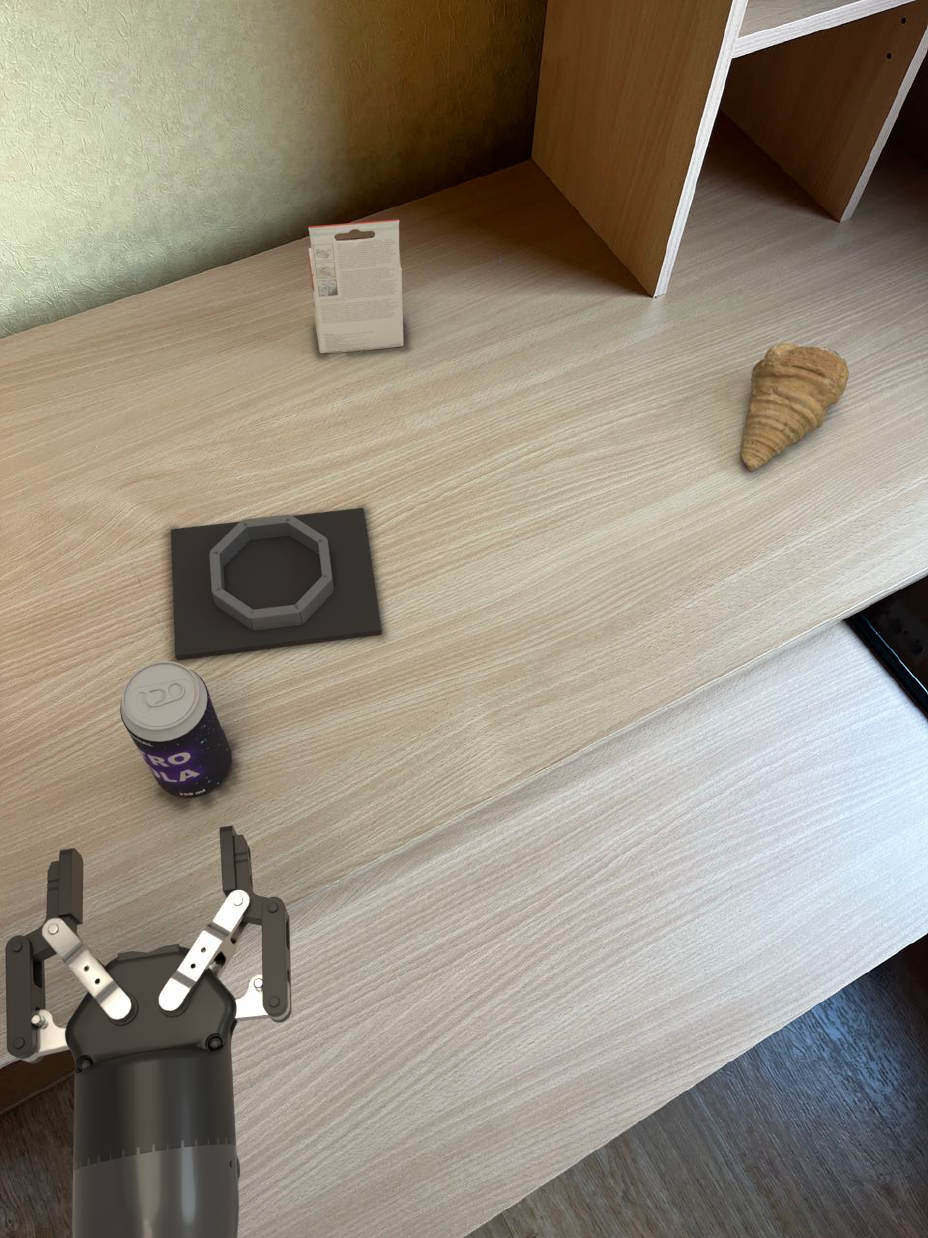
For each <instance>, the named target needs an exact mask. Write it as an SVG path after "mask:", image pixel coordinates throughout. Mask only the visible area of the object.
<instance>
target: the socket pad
mask: <svg viewBox="0 0 928 1238" xmlns="http://www.w3.org/2000/svg"><path fill="white" fill-rule="evenodd" d="M365 516H366V515H365V509H364V507H357V508H347V509H340V510H339V509H337V510H331V511H322V512H313V513H305V514H295V515H292V514H281V515H280V514H279V515H272V516H271V515H270V516H263V517H255V518H246V519H245V518H244V519H242V520H240V521H231V522H223V523H215V524H207V525H206V524H205V525H197V526H189V527H180V528H171V529H170V545H171V546H170V548H171V551H170V552H171V575H172V576H171V578H172V579H171V580H172V603H173V607H172V608H173V626H174V627H173V631H174V656H175V658H176V660H177V661H182V660H189V659H190V660H191V659H198V658H199V659H200V658H205V657H206V658H207V657H212V656H213V657H214V656H221V655H230V654H237V653H244V652H252V651H253V652H254V651H260V650H268V649H269V650H270V649H276V648H285V647H293V646H300V645H308V644H309V645H310V644H317V643H325V642H332V641H340V640H348V639H356V638H357V639H358V638H365V637H373V636H380V635H382V625H381V618H380V612H379V606H378V598H377V591H376V585H375V578H374V570H373V565H372V564H373V563H372V556H371V551H370V550H371V549H370V543H369V538H368V537H369V536H368V530H367V522H366V517H365Z"/></svg>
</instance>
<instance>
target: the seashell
mask: <svg viewBox="0 0 928 1238" xmlns="http://www.w3.org/2000/svg"><path fill="white" fill-rule="evenodd" d="M849 373H850V371H849V368H848V364H847V361H846V359H845V357H844V356H843V355H842V354H840V353H839V352H838V351H836V350H832V349H831V348H829V346H824V347H821V346H819V347H818V346H805V345H802V346H799V345H796V344H794V343H791V344H790V343H785V342H784V343H783V342H782V343H780V344H777V345H774V346H772V347H770V348H768V350H767V351H766V353H765V354H764V358H762V359H760V360H759V361H758V362H757V363H756V364H755V365H754V366H753V367H752V370H751V378H750V382H751V383H750V388H751V389H750V393H751V395H750V398H749V405H748V413H747V416H746V419H745V425H744V426H743V436H742V441H741V446H740V447H741V448H740V450H739V453H740V457H741V459H742V461H743V463H744V464H745V465H746V467H747V468H748V470H749V472H753V471H755V470H757V469H759V468H760V467H761V466H763V465H766V464H767V463H768V462H769V461H771V459H772V458H773V457H776V456H779V455H780V454H781V453H783V452H784V451H785V450H786V448H787V447H789V446H791V445H794V444H795V443H796V442H800V441H801V440H802V439H803V437H804V435H806V434H808V433H812V432H814V431H816V429H820V428H822V427H823V426H824V419H825V415H826V412H827V410H828V408H829V407H830V406H833V405H836V404H838V403H839V400H840V398H841V397H842V396H843V395H844V392H845V390H846V388H847V384H848V380H849V375H850V374H849Z"/></svg>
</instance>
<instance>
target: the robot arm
mask: <svg viewBox="0 0 928 1238" xmlns="http://www.w3.org/2000/svg"><path fill="white" fill-rule="evenodd" d="M219 846H220V847H219V848H220V849H219V850H220V864H221V885H222V892H223V894H224V896H225V897H226V898H225V901H224V902H223V904H222V905H221V907H220V908H219V910H217V913H216V914H215V916H214V917H213V919H212V920H211V922H210V923H209V924H207V925H206V926H205V927H204V928H203V929H202V930H201V932H200V934H199V935H198V936H197V938H196V940H195V941H194V943H193V944H192V946H191V948H189V947H185V946H181V944H179V943H176V944H169V945H162V946H161V947H158V948H156V949H153V950H151V951H148V952H144V951H136V950H132V951H125V952H118V953H117V957H115V958H113V959H111V960H110V961H108V963H107V964H105V963H104V961H102V959H101V958H100V957H99V956H98V955H97V954H96V953H95V951H93V950H92V948H91V947H90V946H89V945H88V944H87V943H86V942H85V940H84V939H83V938H82V937H81V936H80V935H79V933H78V926H80V925H83V924H84V859H83V856H82V854H81V853H80V852H79V851H78V849H76V848H75V847H71V848H64V849H60V850H59V853H58V860H54V861H51V862H50V865H49V867H48V869H47V879H46V880H47V883H46V913H45V919H44V921H43V923H42V924H41V925H40V926H39V927H38V928H36V929H34V930H33V931H31V932H29V933H26V934H24V935H22V934H19V935H15V936H12V937H11V938H9V940H8V941H7V942H6V945H5V950H4V951H5V955H4V956H5V1013H6V1014H5V1016H6V1017H5V1021H6V1023H5V1024H6V1050H7V1052H8V1054H10V1055H11V1056H12V1057H15V1058H16V1059H18V1060H20V1061H23V1062H25V1063H28V1064H37V1063H39V1062H41V1061H42V1060H43V1059H44V1058H45V1056H48V1055H52V1054H56V1053H61V1052H66V1051H70V1052H71V1055H72V1057H73V1062H74V1080H73V1081H74V1086H73V1092H74V1093H73V1146H72V1147H73V1149H72V1150H73V1151H72V1152H73V1153H72V1154H73V1155H72V1157H73V1159H72V1172H73V1173H72V1221H71V1222H72V1225H71V1226H72V1238H238V1234H239V1233H238V1232H239V1223H240V1221H239V1220H240V1190H239V1189H240V1187H239V1183H240V1182H239V1181H240V1178H241V1164H240V1159H239V1156H238V1152H237V1151H238V1149H237V1134H236V1133H237V1132H236V1131H237V1130H236V1115H235V1114H236V1113H235V1097H234V1096H235V1095H234V1094H235V1093H234V1076H233V1058H232V1057H233V1056H232V1039H233V1034H234V1031H235V1029H236V1027H237V1024H238V1022H245V1021H254V1020H264V1019H265V1020H266V1019H270V1020H272V1021H273V1022H274V1023H277V1024H280V1023H281V1024H282V1023H284V1022H286V1021H287V1020H289V1019H290V1017H291V1015H292V1009H293V1008H292V1005H293V1004H292V969H291V967H292V966H291V965H292V964H291V922H290V921H291V918H290V914H289V912H288V910H287V907H286V905H285V902H284V901H283V900H282V898H280V897H279V896H270V897H267V896H261V895H259V894H256V893H255V892H254V882H253V879H254V878H253V867H252V851H251V848H250V846H249V844H248V841H247V840H246V838H245V836H244V834H238V833H237V831H236V828H235V826H234V825H233V824H232V825H226V826H220V827H219ZM250 925H255V926H261V973H258V974H255V975H253V976H252V978H251V979H250V980H249V983H248V987H247V991H246V993H245V994H244V995H243V996H242V997H240V998H238V999H237V998H236V997H235V996H234V995H233V993H232V992H231V991H230V990H229V988H227V986H226V985H225V984H224V983H223V982H222V981H221V980H220V977H221V976H222V974H223V973H224V972H225V970H226V968H227V966H228V965H229V964H230V962H231V960H232V958H233V957H234V955H235V953H236V951H237V947H238V945H239V943H240V941H241V940H242V938H243V936H244V935H245V933H246V932H247V930H248V928H249V927H250ZM56 955H58V957H59V958H61V960H62V961H63V963H64V964H65V966H66V967H67V968H68V969H69V970H70V971H71V973H72V974H73V975H74V977H75V978H76V979H77V980H78V981H79V982H80V984H81V985H82V986H83V987H84V988H85V989H86V990H87V992H86V994H85V995H84V997H83V998H82V1000H80V1003H79V1004H78V1006H77V1007H76V1009H75V1010H74V1012H73V1014H72V1015H71V1016H70V1018H69V1020H68V1021H67V1023H66V1025H65V1027H61V1026H60V1024H59V1020H58V1017H57V1016H56V1015H55V1014H54V1013H52V1012H51V1011H49V1010H47V1003H46V1002H47V1001H46V975H45V974H46V973H45V972H46V971H45V970H46V969H45V961H46V960H47V959H51V958H52V957H54V956H56Z"/></svg>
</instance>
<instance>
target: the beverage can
mask: <svg viewBox="0 0 928 1238" xmlns="http://www.w3.org/2000/svg"><path fill="white" fill-rule="evenodd" d="M119 713H120V714H119V715H120V718H121V721H122V724H123V725H124V727H125V729H126V731H127V733H128V734H129V736H130V738H131V739H132V741H133V743H134V744H135V746H136V748H137V749H138V751H139V753H140V755H141V757H142V758H143V760H144V762H145V763H146V765H147V767H148V768H149V770H150V772H151V774H152V775H153V777H154V780H155V781H156V782H157V784H158V785H159V786H160V788H161V789H163V791H165V792H167V794H170V795H171V796H175V797H177V798H182V799H194V798H198V797H202V796H205V795H207V794H210V793H211V792H213V791H214V790H215V789H217V788H218V787H220V786H221V784H222V783H223V782H224V781H225V780H226V778H227V776H228V775H229V773H230V769H231V766H232V762H233V761H232V760H233V756H232V755H233V754H232V750H231V746H230V743H229V740H228V739H227V735H226V733H225V731H224V728H223V726H222V723H221V720H220V717H219V715H218V712H217V709H216V707H215V704H214V702H213V700H212V698H211V694H210V692H209V690H208V687H207V684H206V683H205V681H204V680H203V678H202V677H201V676H200V675H199V674H198V673H197V672H195V671H194V670H192V669H191V668H188V667H187V666H186V665H183V664H182V663H179V662H175V661H171V660H161V661H160V660H159V661H154V662H151V663H148V664H146V665H144V666H142V667H140V668H139V669H137V670H136V671H135V672H134V673H132V675H131V676H130V677H129V678H128V680H127V681H126V683H125V685H124V687H123V690H122V694H121V699H120V705H119Z"/></svg>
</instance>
